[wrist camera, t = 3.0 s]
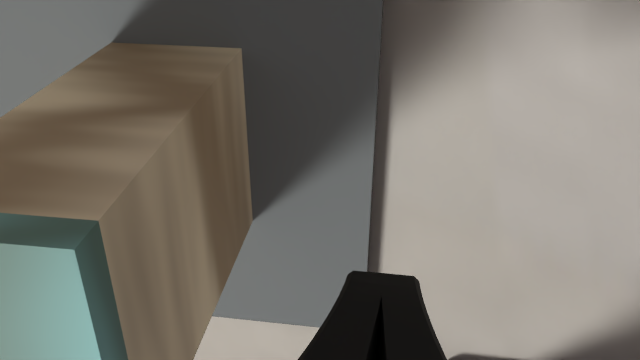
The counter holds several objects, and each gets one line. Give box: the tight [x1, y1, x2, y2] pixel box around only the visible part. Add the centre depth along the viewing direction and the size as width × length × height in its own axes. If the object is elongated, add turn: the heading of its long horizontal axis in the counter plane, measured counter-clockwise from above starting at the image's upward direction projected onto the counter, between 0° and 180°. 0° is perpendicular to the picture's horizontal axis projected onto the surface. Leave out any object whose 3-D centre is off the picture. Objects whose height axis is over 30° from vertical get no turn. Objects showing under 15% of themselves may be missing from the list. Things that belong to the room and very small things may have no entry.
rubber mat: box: [0, 0, 383, 327], centre depth 20 cm, size 18×15×1 cm
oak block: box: [0, 43, 253, 360], centre depth 15 cm, size 4×6×10 cm, turn 0°
